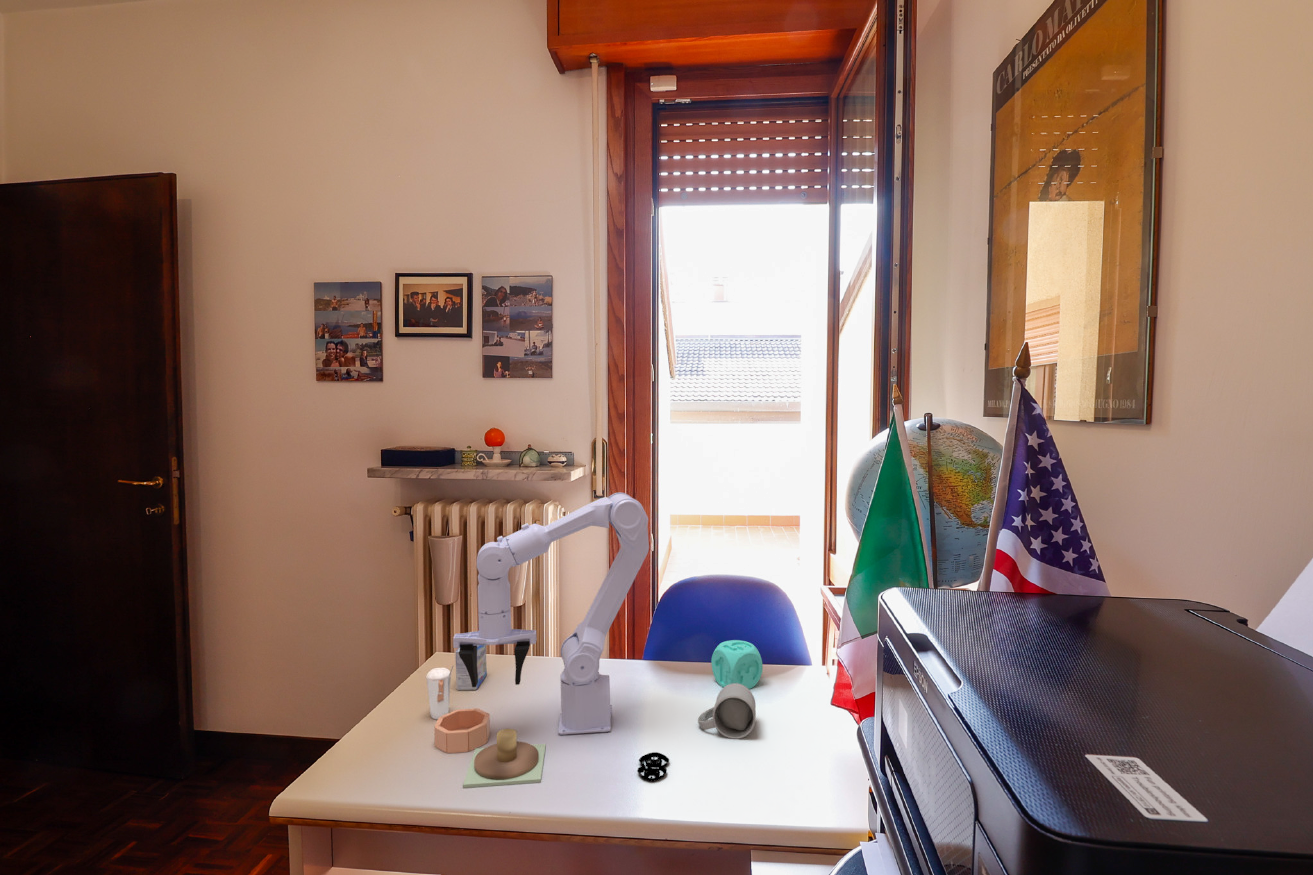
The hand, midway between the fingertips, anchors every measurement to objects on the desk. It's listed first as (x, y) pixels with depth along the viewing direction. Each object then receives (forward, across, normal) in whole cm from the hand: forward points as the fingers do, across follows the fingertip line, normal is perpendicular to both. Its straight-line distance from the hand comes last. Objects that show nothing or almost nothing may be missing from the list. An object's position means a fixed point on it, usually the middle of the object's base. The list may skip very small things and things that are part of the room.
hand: (496, 683), depth 117 cm
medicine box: (+10, -9, +24) cm, 27 cm away
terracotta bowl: (+9, -6, -1) cm, 11 cm away
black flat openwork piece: (+10, +27, -15) cm, 32 cm away
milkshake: (+10, -12, +9) cm, 18 cm away
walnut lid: (+9, +3, -11) cm, 14 cm away
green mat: (+9, +3, -11) cm, 15 cm away
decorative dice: (+10, +48, +16) cm, 52 cm away
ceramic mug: (+10, +42, -3) cm, 43 cm away
